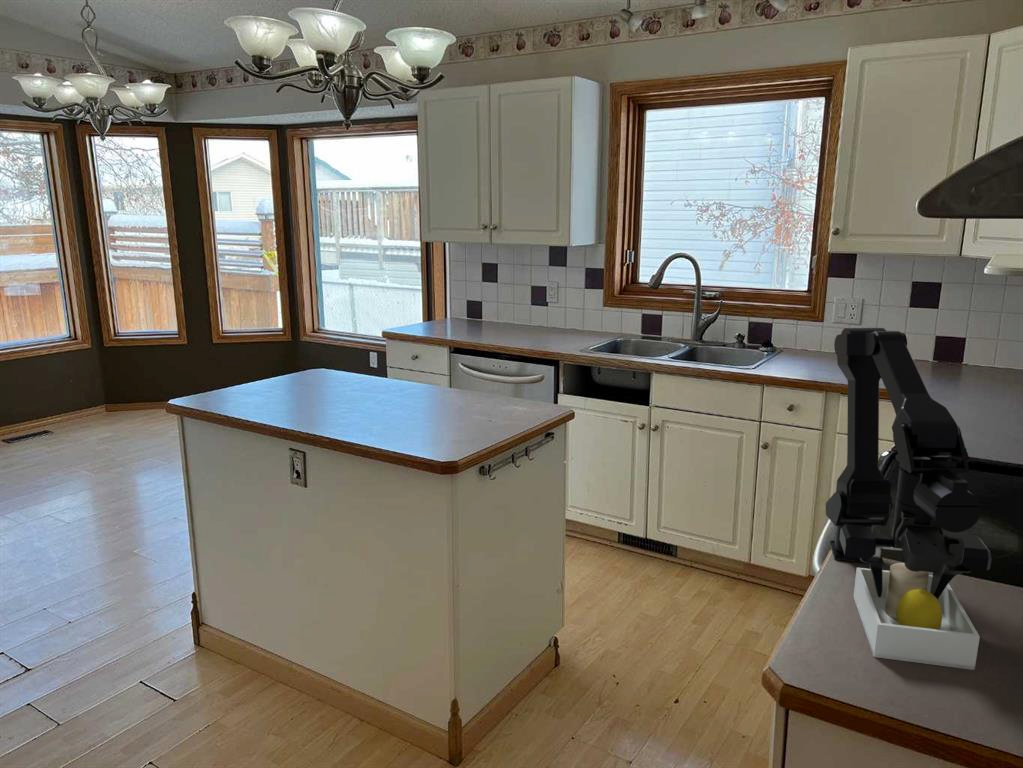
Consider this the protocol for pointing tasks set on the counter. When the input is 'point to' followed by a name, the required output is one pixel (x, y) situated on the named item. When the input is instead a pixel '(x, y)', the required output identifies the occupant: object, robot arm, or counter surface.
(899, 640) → the tote
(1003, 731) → the counter surface
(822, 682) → the counter surface
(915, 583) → the birch peg
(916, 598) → the lemon
